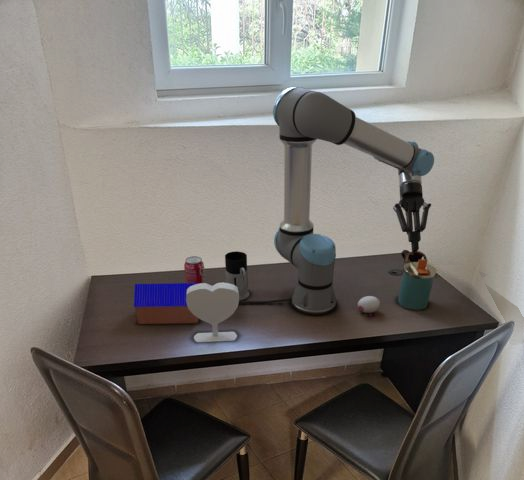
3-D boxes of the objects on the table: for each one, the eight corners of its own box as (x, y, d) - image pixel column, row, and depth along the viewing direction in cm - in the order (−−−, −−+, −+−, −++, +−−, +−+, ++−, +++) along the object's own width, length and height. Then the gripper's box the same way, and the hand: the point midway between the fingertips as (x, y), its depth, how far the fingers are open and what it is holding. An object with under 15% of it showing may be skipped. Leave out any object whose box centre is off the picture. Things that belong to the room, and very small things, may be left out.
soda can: (203, 284, 173) (201, 254, 166) (207, 292, 168) (205, 262, 161) (185, 286, 171) (181, 256, 164) (188, 295, 166) (185, 265, 159)
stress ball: (373, 315, 161) (370, 296, 161) (384, 313, 153) (382, 293, 153) (353, 318, 159) (351, 298, 159) (364, 316, 151) (361, 296, 151)
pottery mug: (430, 268, 185) (433, 256, 177) (414, 283, 183) (416, 271, 176) (407, 252, 190) (409, 240, 183) (391, 266, 188) (392, 254, 181)
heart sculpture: (240, 331, 147) (238, 280, 137) (240, 340, 143) (238, 288, 133) (191, 333, 146) (185, 282, 136) (190, 342, 142) (184, 290, 132)
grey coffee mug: (244, 287, 171) (244, 249, 162) (257, 305, 160) (257, 265, 152) (222, 290, 169) (220, 252, 160) (233, 309, 158) (232, 269, 149)
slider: (416, 269, 154) (418, 259, 152) (425, 268, 154) (427, 259, 152) (419, 273, 151) (421, 264, 149) (428, 273, 151) (431, 264, 149)
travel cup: (393, 295, 166) (400, 260, 158) (422, 294, 166) (430, 259, 158) (401, 310, 158) (409, 274, 149) (432, 310, 158) (441, 273, 150)
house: (198, 323, 151) (195, 292, 144) (137, 324, 150) (131, 293, 144) (201, 305, 160) (198, 274, 154) (143, 305, 160) (138, 275, 153)
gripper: (395, 181, 158) (400, 246, 154) (433, 180, 158) (438, 246, 154) (388, 191, 165) (393, 254, 161) (425, 191, 165) (430, 254, 162)
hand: (415, 250), depth 158 cm, fingers closed
